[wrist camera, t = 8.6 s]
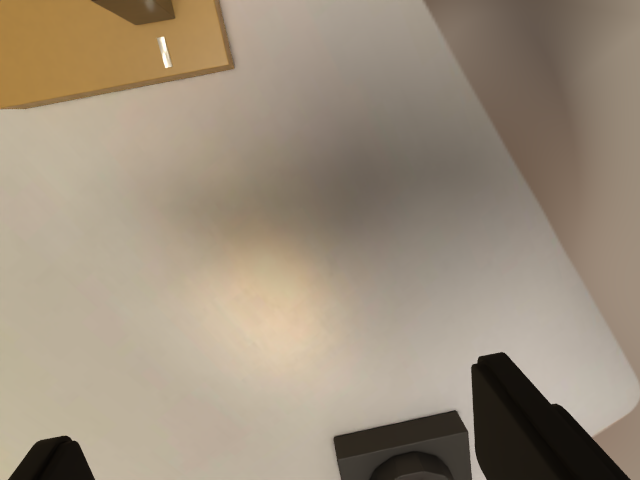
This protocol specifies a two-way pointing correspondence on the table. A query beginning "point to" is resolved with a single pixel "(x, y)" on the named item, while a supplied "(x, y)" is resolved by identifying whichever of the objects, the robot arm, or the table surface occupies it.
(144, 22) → the lock knob
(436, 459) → the button base
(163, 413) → the table surface
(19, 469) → the robot arm
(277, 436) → the table surface
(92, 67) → the plate
